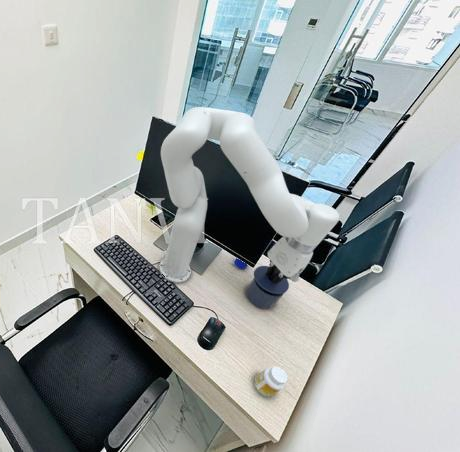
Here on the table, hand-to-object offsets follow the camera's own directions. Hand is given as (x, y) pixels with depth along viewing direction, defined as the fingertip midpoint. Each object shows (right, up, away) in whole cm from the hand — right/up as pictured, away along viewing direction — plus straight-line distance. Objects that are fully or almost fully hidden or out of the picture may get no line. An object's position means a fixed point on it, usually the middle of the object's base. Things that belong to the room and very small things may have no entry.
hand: (272, 277), depth 88 cm
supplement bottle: (-11, -29, -14) cm, 34 cm away
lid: (0, -1, +1) cm, 1 cm away
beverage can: (-3, +1, +19) cm, 19 cm away
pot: (0, -9, +8) cm, 12 cm away
